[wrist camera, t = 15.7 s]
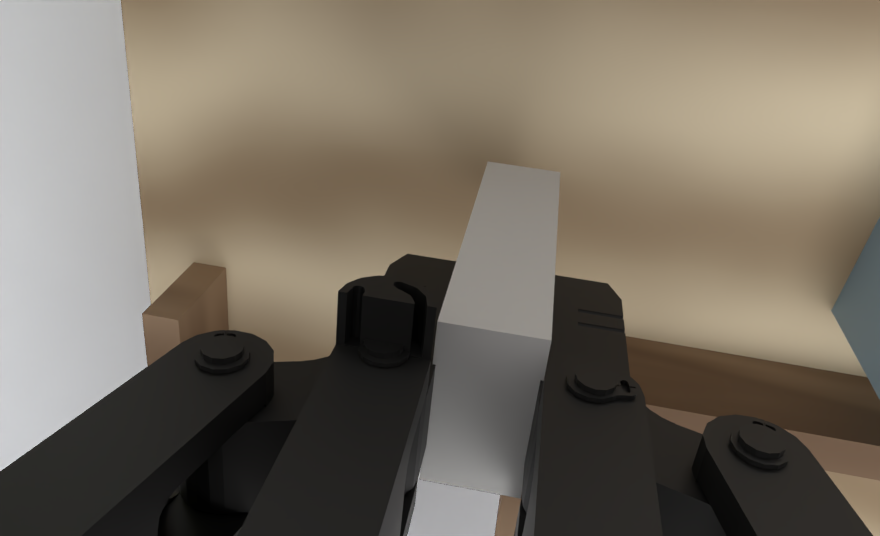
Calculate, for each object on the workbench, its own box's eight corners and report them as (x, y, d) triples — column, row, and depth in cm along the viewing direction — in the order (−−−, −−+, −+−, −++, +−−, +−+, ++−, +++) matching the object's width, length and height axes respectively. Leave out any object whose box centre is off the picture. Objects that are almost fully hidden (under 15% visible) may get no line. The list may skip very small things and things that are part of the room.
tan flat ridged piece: (980, 494, 25) (1083, 658, 20) (200, 350, 28) (111, 462, 23) (1549, -486, 14) (2133, -700, 9) (140, -560, 17) (-64, -754, 11)
